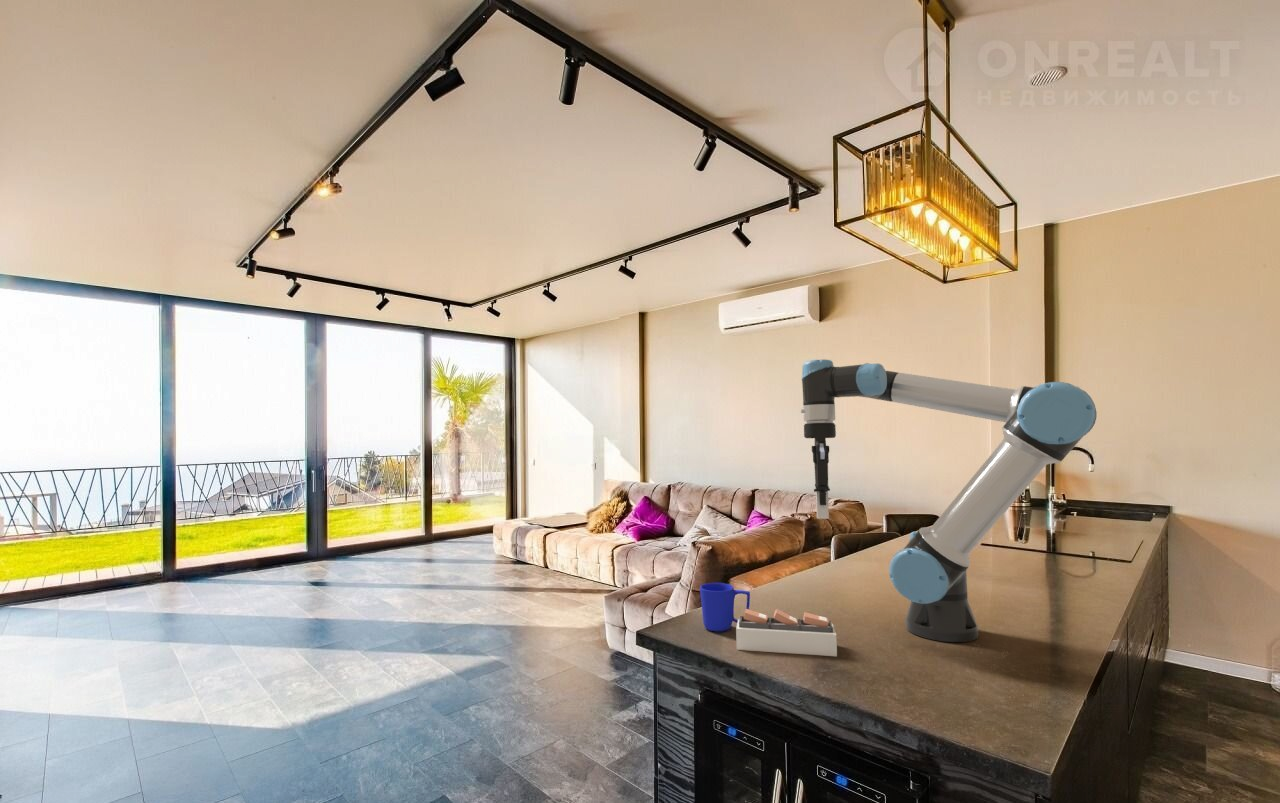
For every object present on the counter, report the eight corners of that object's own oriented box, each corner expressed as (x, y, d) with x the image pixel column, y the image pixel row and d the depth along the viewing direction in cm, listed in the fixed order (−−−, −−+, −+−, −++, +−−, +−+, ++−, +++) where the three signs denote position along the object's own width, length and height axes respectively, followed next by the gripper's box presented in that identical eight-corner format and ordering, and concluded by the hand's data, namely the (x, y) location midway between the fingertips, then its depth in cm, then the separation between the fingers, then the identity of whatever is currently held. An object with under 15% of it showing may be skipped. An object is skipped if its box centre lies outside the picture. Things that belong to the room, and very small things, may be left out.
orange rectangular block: (826, 624, 127) (827, 617, 127) (827, 628, 124) (828, 622, 124) (803, 618, 128) (804, 611, 128) (803, 622, 125) (805, 616, 125)
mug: (750, 635, 135) (749, 592, 135) (699, 633, 137) (698, 590, 138) (751, 624, 143) (749, 583, 143) (702, 622, 145) (701, 582, 146)
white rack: (833, 644, 128) (832, 619, 128) (837, 656, 121) (836, 629, 122) (738, 638, 133) (738, 614, 133) (736, 649, 126) (736, 624, 126)
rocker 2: (794, 624, 128) (797, 619, 128) (795, 629, 125) (798, 623, 125) (773, 614, 130) (776, 608, 130) (773, 618, 126) (776, 612, 126)
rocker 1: (765, 621, 130) (767, 615, 130) (765, 625, 127) (767, 619, 127) (744, 614, 131) (745, 608, 131) (743, 618, 128) (745, 612, 128)
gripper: (802, 423, 150) (805, 514, 148) (805, 422, 137) (808, 521, 136) (832, 422, 148) (836, 514, 147) (838, 421, 135) (841, 522, 134)
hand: (822, 518), depth 141 cm, fingers closed
